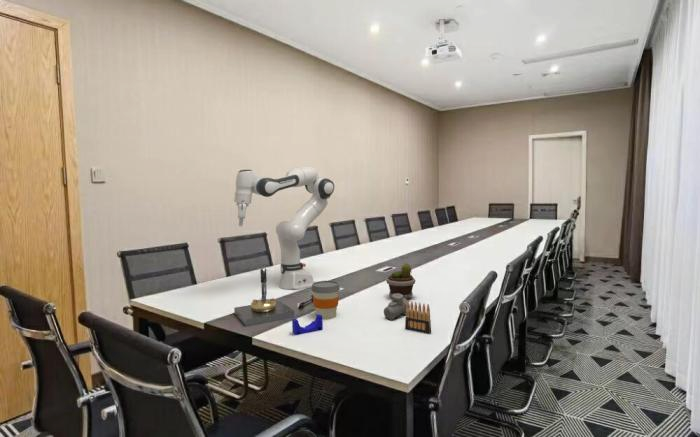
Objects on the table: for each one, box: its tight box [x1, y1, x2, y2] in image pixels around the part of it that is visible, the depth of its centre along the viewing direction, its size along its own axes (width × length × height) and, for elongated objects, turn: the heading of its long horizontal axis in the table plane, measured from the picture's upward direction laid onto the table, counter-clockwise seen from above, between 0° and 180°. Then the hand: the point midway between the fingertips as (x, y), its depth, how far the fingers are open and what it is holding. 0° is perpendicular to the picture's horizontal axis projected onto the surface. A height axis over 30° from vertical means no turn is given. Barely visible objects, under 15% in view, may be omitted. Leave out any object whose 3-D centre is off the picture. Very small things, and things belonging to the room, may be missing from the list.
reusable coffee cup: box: [311, 280, 340, 320], centre depth 179 cm, size 13×12×15 cm
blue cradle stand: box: [291, 314, 324, 336], centre depth 161 cm, size 12×4×6 cm, turn 117°
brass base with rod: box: [250, 267, 277, 312], centre depth 183 cm, size 17×11×17 cm, turn 10°
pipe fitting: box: [383, 293, 411, 320], centre depth 176 cm, size 12×8×10 cm
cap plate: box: [233, 300, 295, 327], centre depth 181 cm, size 22×20×3 cm
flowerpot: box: [385, 262, 416, 301], centre depth 205 cm, size 14×15×20 cm
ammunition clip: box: [404, 300, 432, 335], centre depth 158 cm, size 11×2×12 cm, turn 56°
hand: (240, 225), depth 211 cm, fingers open, 8 cm apart
